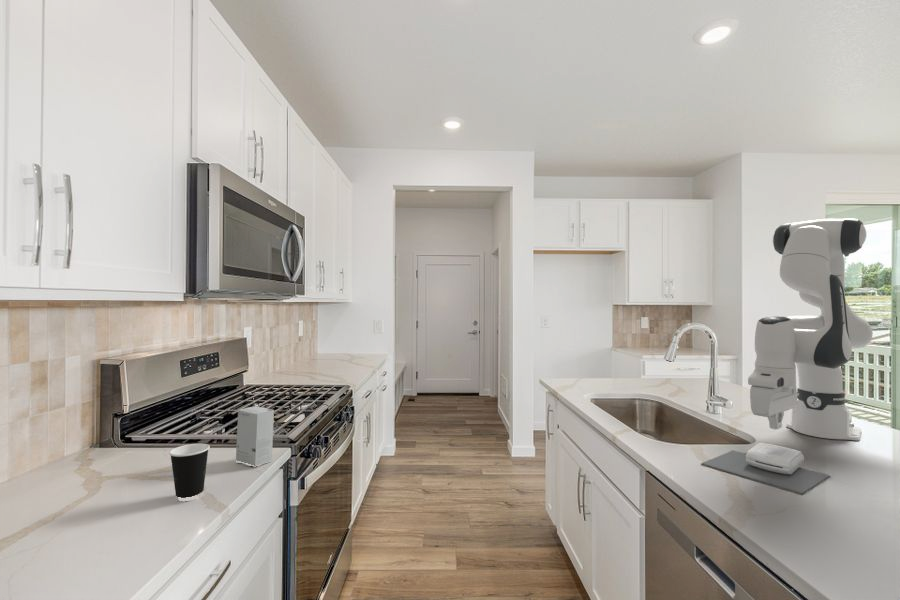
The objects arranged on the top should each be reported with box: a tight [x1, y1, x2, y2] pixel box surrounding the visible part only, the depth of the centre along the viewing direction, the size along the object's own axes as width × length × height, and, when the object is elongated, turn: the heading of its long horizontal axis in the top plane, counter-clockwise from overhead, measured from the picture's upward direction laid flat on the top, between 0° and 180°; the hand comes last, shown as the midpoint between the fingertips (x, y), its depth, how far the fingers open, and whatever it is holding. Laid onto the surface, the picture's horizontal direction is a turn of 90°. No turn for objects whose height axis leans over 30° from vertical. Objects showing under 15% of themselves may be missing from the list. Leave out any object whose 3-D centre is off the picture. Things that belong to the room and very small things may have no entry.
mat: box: [701, 449, 831, 496], centre depth 111 cm, size 18×22×1 cm
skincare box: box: [235, 405, 275, 466], centre depth 119 cm, size 8×6×15 cm
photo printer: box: [746, 442, 805, 474], centre depth 112 cm, size 10×4×12 cm
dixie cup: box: [168, 443, 211, 498], centre depth 98 cm, size 8×8×11 cm
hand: (775, 428), depth 115 cm, fingers closed
